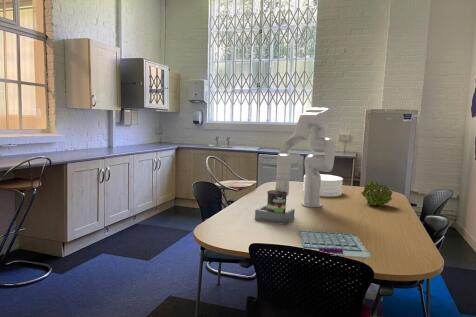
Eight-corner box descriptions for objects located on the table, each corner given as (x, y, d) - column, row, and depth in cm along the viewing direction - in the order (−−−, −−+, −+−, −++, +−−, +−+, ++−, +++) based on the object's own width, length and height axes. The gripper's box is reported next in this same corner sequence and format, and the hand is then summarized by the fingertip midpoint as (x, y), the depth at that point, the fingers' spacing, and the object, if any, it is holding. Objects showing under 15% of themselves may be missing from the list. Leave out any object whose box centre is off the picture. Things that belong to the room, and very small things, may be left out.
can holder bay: (265, 213, 202) (265, 204, 201) (294, 218, 194) (294, 209, 194) (254, 219, 190) (255, 209, 189) (285, 224, 182) (286, 214, 182)
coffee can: (288, 220, 190) (289, 193, 188) (269, 220, 188) (270, 194, 186) (281, 215, 200) (282, 189, 198) (263, 215, 198) (264, 190, 196)
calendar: (357, 236, 169) (357, 231, 169) (374, 259, 142) (374, 253, 141) (298, 233, 172) (299, 228, 171) (304, 255, 144) (304, 249, 144)
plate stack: (295, 189, 274) (296, 174, 273) (325, 187, 286) (326, 173, 285) (318, 197, 249) (319, 181, 248) (350, 195, 261) (351, 179, 260)
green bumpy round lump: (382, 194, 243) (397, 182, 230) (383, 214, 234) (398, 202, 221) (358, 185, 242) (372, 172, 229) (357, 204, 232) (372, 192, 219)
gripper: (281, 174, 207) (280, 205, 209) (271, 177, 194) (270, 211, 196) (294, 175, 203) (292, 207, 205) (285, 179, 190) (283, 213, 192)
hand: (281, 209), depth 201 cm, fingers closed
